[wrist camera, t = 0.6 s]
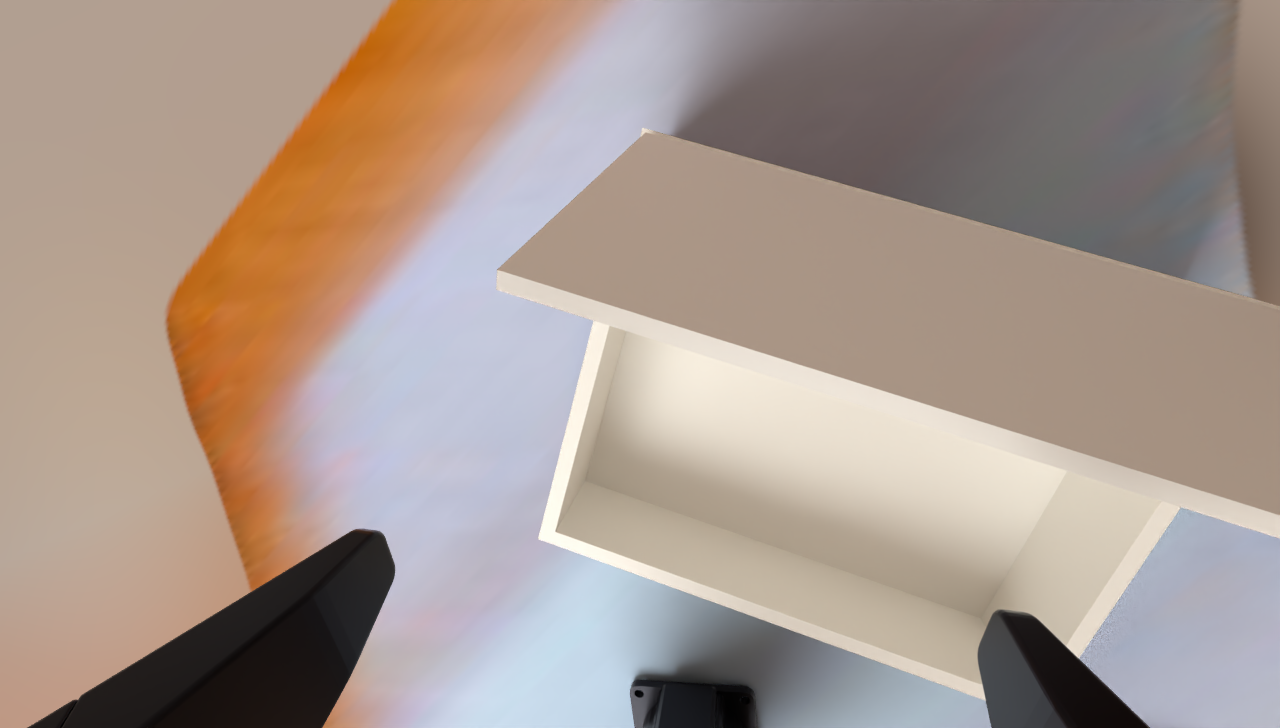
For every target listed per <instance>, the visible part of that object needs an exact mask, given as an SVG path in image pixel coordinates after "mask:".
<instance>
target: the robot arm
mask: <svg viewBox="0 0 1280 728" xmlns="http://www.w3.org/2000/svg"><path fill="white" fill-rule="evenodd" d="M394 576H395V564H394V561H393V558H392V555H391V553H390V550H389V547H388V544H387V541H386V538H385V536H384V535H383V533H381V532H380V531H376V530H368V529H355V530H353V531H351V532H349V533H347V534H346V535H344V536H342V537H341V538H339V539H338V540H336V541H334V542H333V543H331V544H329V545H328V546H326V547H324V548H323V549H321V550H319V551H318V552H316V553H315V554H313V555H311V556H310V557H308V558H306V559H305V560H303V561H301V562H300V563H298V564H296V565H295V566H293V567H291V568H290V569H288V570H287V571H285V572H283V573H282V574H280V575H278V576H277V577H275V578H273V579H272V580H270V581H268V582H267V583H265V584H264V585H262V586H260V587H259V588H257V589H255V590H254V591H252V592H250V593H249V594H247V595H245V596H244V597H242V598H241V599H239V600H238V601H236V602H234V603H232V604H231V605H229V606H227V607H226V608H224V609H222V610H221V611H219V612H217V613H216V614H214V615H213V616H211V617H209V618H208V619H206V620H205V621H203V622H201V623H199V624H198V625H196V626H194V627H193V628H191V629H190V630H188V631H186V632H185V633H183V634H181V635H180V636H178V637H176V638H175V639H173V640H171V641H170V642H168V643H166V644H165V645H163V646H162V647H160V648H158V649H157V650H155V651H154V652H152V653H150V654H148V655H147V656H145V657H143V658H142V659H140V660H138V661H137V662H135V663H134V664H132V665H130V666H129V667H127V668H125V669H124V670H122V671H120V672H119V673H117V674H116V675H114V676H112V677H111V678H109V679H107V680H106V681H104V682H102V683H101V684H99V685H97V686H96V687H94V688H92V689H91V690H89V691H88V692H86V693H84V694H83V695H81V697H80V698H79V700H72V701H71V702H69V703H68V704H66V705H64V706H63V707H61V708H59V709H58V710H56V711H54V712H53V713H51V714H49V715H48V716H46V717H45V718H43V719H41V720H40V721H38V722H36V723H35V724H33V725H31V726H29V727H28V728H322V727H323V725H324V724H325V722H326V720H327V718H328V716H329V715H330V713H331V711H332V709H333V707H334V706H335V704H336V702H337V700H338V698H339V697H340V695H341V693H342V691H343V689H344V687H345V685H346V684H347V682H348V680H349V678H350V676H351V674H352V672H353V670H354V668H355V666H356V664H357V661H358V659H359V657H360V655H361V653H362V650H363V648H364V646H365V644H366V641H367V639H368V637H369V635H370V632H371V630H372V628H373V625H374V623H375V621H376V619H377V616H378V614H379V612H380V610H381V607H382V605H383V603H384V601H385V598H386V596H387V594H388V592H389V589H390V587H391V585H392V582H393V580H394ZM977 657H978V666H979V671H980V675H981V680H982V685H983V690H984V694H985V699H986V704H987V708H988V713H989V718H990V723H991V727H992V728H1150V727H1149V726H1148V725H1147V724H1146V723H1145V722H1144V721H1142V720H1141V719H1140V718H1139V717H1138V716H1137V715H1136V714H1135V713H1134V712H1133V711H1132V710H1131V709H1130V708H1129V707H1128V706H1127V705H1126V704H1125V703H1124V702H1123V701H1122V700H1121V699H1120V698H1119V697H1118V696H1117V695H1116V694H1115V693H1114V692H1113V691H1112V690H1111V689H1110V688H1109V687H1107V686H1106V685H1105V684H1104V683H1103V682H1102V681H1101V680H1100V679H1099V678H1098V677H1097V676H1096V675H1095V674H1094V673H1093V672H1092V671H1091V670H1090V669H1089V668H1088V667H1087V666H1086V665H1085V664H1084V663H1083V662H1082V661H1081V660H1080V659H1079V658H1078V657H1077V656H1076V655H1075V654H1074V653H1072V652H1071V651H1070V650H1069V649H1068V648H1067V647H1066V646H1065V645H1064V644H1063V643H1062V642H1061V641H1060V640H1059V639H1058V638H1057V637H1056V636H1055V635H1054V634H1053V633H1052V632H1051V631H1050V630H1049V629H1048V628H1047V627H1046V626H1045V625H1044V624H1043V623H1042V622H1041V621H1040V620H1038V619H1037V618H1036V617H1035V616H1033V615H1032V614H1029V613H1026V612H1021V611H1013V610H1005V609H998V610H996V611H995V612H993V614H992V616H991V618H990V620H989V622H988V625H987V627H986V629H985V632H984V634H983V636H982V639H981V641H980V644H979V647H978V656H977ZM638 690H641V691H642V692H641V691H638ZM744 696H745V697H747V698H743V697H744ZM630 697H631V704H632V712H633V719H634V726H635V728H757V721H756V707H755V694H754V691H753V690H752V689H751V688H749V687H746V686H734V685H716V684H699V683H682V682H665V681H648V680H636V681H634V682H633V683H632V685H631V689H630Z"/></svg>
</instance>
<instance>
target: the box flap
mask: <svg viewBox="0 0 1280 728" xmlns="http://www.w3.org/2000/svg"><path fill="white" fill-rule="evenodd" d="M496 290H499V291H502V292H505V293H508V294H511V295H514V296H518V297H521V298H524V299H527V300H530V301H533V302H536V303H540V304H543V305H546V306H549V307H552V308H555V309H559V310H562V311H565V312H568V313H571V314H574V315H577V316H581V317H584V318H587V319H590V320H593V321H596V322H599V323H603V324H606V325H609V326H612V327H615V328H618V329H622V330H625V331H628V332H631V333H634V334H637V335H640V336H644V337H647V338H650V339H653V340H656V341H659V342H662V343H666V344H669V345H672V346H675V347H678V348H681V349H684V350H688V351H691V352H694V353H697V354H700V355H703V356H707V357H710V358H713V359H716V360H719V361H722V362H725V363H729V364H732V365H735V366H738V367H741V368H744V369H747V370H751V371H754V372H757V373H760V374H763V375H766V376H770V377H773V378H776V379H779V380H782V381H785V382H788V383H792V384H795V385H798V386H801V387H804V388H807V389H810V390H814V391H817V392H820V393H823V394H826V395H829V396H833V397H836V398H839V399H842V400H845V401H848V402H851V403H855V404H858V405H861V406H864V407H867V408H870V409H873V410H877V411H880V412H883V413H886V414H889V415H892V416H895V417H899V418H902V419H905V420H908V421H911V422H914V423H918V424H921V425H924V426H927V427H930V428H933V429H936V430H940V431H943V432H946V433H949V434H952V435H955V436H958V437H962V438H965V439H968V440H971V441H974V442H977V443H981V444H984V445H987V446H990V447H993V448H996V449H999V450H1003V451H1006V452H1009V453H1012V454H1015V455H1018V456H1021V457H1025V458H1028V459H1031V460H1034V461H1037V462H1040V463H1043V464H1047V465H1050V466H1053V467H1056V468H1059V469H1062V470H1066V471H1069V472H1072V473H1075V474H1078V475H1081V476H1084V477H1088V478H1091V479H1094V480H1097V481H1100V482H1103V483H1106V484H1110V485H1113V486H1116V487H1119V488H1122V489H1125V490H1129V491H1132V492H1135V493H1138V494H1141V495H1144V496H1147V497H1151V498H1154V499H1157V500H1160V501H1163V502H1166V503H1169V504H1173V505H1176V506H1179V507H1182V508H1185V509H1188V510H1191V511H1195V512H1198V513H1201V514H1204V515H1207V516H1210V517H1214V518H1217V519H1220V520H1223V521H1226V522H1229V523H1232V524H1236V525H1239V526H1242V527H1245V528H1248V529H1251V530H1254V531H1258V532H1261V533H1264V534H1267V535H1270V536H1273V537H1277V538H1280V310H1277V309H1274V308H1270V307H1267V306H1263V305H1259V304H1256V303H1252V302H1249V301H1245V300H1242V299H1238V298H1234V297H1231V296H1227V295H1224V294H1220V293H1217V292H1213V291H1210V290H1206V289H1202V288H1199V287H1195V286H1192V285H1188V284H1185V283H1181V282H1177V281H1174V280H1170V279H1167V278H1163V277H1160V276H1156V275H1152V274H1149V273H1145V272H1142V271H1138V270H1135V269H1131V268H1127V267H1124V266H1120V265H1117V264H1113V263H1110V262H1106V261H1103V260H1099V259H1095V258H1092V257H1088V256H1085V255H1081V254H1078V253H1074V252H1070V251H1067V250H1063V249H1060V248H1056V247H1053V246H1049V245H1045V244H1042V243H1038V242H1035V241H1031V240H1028V239H1024V238H1020V237H1017V236H1013V235H1010V234H1006V233H1003V232H999V231H996V230H992V229H988V228H985V227H981V226H978V225H974V224H971V223H967V222H963V221H960V220H956V219H953V218H949V217H946V216H942V215H938V214H935V213H931V212H928V211H924V210H921V209H917V208H913V207H910V206H906V205H903V204H899V203H896V202H892V201H889V200H885V199H881V198H878V197H874V196H871V195H867V194H864V193H860V192H856V191H853V190H849V189H846V188H842V187H839V186H835V185H831V184H828V183H824V182H821V181H817V180H814V179H810V178H806V177H803V176H799V175H796V174H792V173H789V172H785V171H782V170H778V169H774V168H771V167H767V166H764V165H760V164H757V163H753V162H749V161H746V160H742V159H739V158H735V157H732V156H728V155H724V154H721V153H717V152H714V151H710V150H707V149H703V148H699V147H696V146H692V145H689V144H685V143H682V142H678V141H675V140H671V139H667V138H664V137H660V136H657V135H653V134H650V133H646V132H645V133H644V134H643V135H642V136H641V137H640V138H639V139H638V140H637V141H636V142H635V143H634V144H632V145H631V146H630V147H629V148H628V149H627V150H626V151H625V152H624V153H623V154H622V155H621V156H619V157H618V158H617V159H616V160H615V161H614V162H613V163H612V164H611V165H610V166H609V167H608V168H606V169H605V170H604V171H603V172H602V173H601V174H600V175H599V176H598V177H597V178H596V179H595V180H594V181H592V182H591V183H590V184H589V185H588V186H587V187H586V188H585V189H584V190H583V191H582V192H581V193H579V194H578V195H577V196H576V197H575V198H574V199H573V200H572V201H571V202H570V203H569V204H568V205H567V206H565V207H564V208H563V209H562V210H561V211H560V212H559V213H558V214H557V215H556V216H555V217H554V218H552V219H551V220H550V221H549V222H548V223H547V224H546V225H545V226H544V227H543V228H542V229H541V230H540V231H538V232H537V233H536V234H535V235H534V236H533V237H532V238H531V239H530V240H529V241H528V242H527V243H525V244H524V245H523V246H522V247H521V248H520V249H519V250H518V251H517V252H516V253H515V254H514V255H512V256H511V257H510V258H509V259H508V260H507V261H506V262H505V263H504V264H503V265H502V266H501V267H500V268H498V269H497V287H496Z"/></svg>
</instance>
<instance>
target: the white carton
mask: <svg viewBox="0 0 1280 728" xmlns="http://www.w3.org/2000/svg"><path fill="white" fill-rule="evenodd" d="M645 132H646V133H650V134H653V135H657V136H660V137H664V138H667V139H671V140H675V141H678V142H682V143H685V144H689V145H692V146H696V147H699V148H703V149H707V150H710V151H714V152H717V153H721V154H724V155H728V156H732V157H735V158H739V159H742V160H746V161H749V162H753V163H757V164H760V165H764V166H767V167H771V168H774V169H778V170H782V171H785V172H789V173H792V174H796V175H799V176H803V177H806V178H810V179H814V180H817V181H821V182H824V183H828V184H831V185H835V186H839V187H842V188H846V189H849V190H853V191H856V192H860V193H864V194H867V195H871V196H874V197H878V198H881V199H885V200H889V201H892V202H896V203H899V204H903V205H906V206H910V207H913V208H917V209H921V210H924V211H928V212H931V213H935V214H938V215H942V216H946V217H949V218H953V219H956V220H960V221H963V222H967V223H971V224H974V225H978V226H981V227H985V228H988V229H992V230H996V231H999V232H1003V233H1006V234H1010V235H1013V236H1017V237H1020V238H1024V239H1028V240H1031V241H1035V242H1038V243H1042V244H1045V245H1049V246H1053V247H1056V248H1060V249H1063V250H1067V251H1070V252H1074V253H1078V254H1081V255H1085V256H1088V257H1092V258H1095V259H1099V260H1103V261H1106V262H1110V263H1113V264H1117V265H1120V266H1124V267H1127V268H1131V269H1135V270H1138V271H1142V272H1145V273H1149V274H1152V275H1156V276H1160V277H1163V278H1167V279H1170V280H1174V281H1177V282H1181V283H1185V284H1188V285H1192V286H1195V287H1199V288H1202V289H1206V290H1210V291H1213V292H1217V293H1220V294H1224V295H1227V296H1231V297H1234V298H1238V299H1242V300H1245V301H1249V302H1252V303H1256V304H1259V305H1263V306H1267V307H1270V308H1274V309H1277V310H1280V306H1278V305H1274V304H1271V303H1267V302H1263V301H1260V300H1256V299H1253V298H1249V297H1246V296H1242V295H1238V294H1235V293H1231V292H1228V291H1224V290H1221V289H1217V288H1213V287H1210V286H1206V285H1203V284H1199V283H1196V282H1192V281H1188V280H1185V279H1181V278H1178V277H1174V276H1171V275H1167V274H1163V273H1160V272H1156V271H1153V270H1149V269H1145V268H1142V267H1138V266H1135V265H1131V264H1128V263H1124V262H1120V261H1117V260H1113V259H1110V258H1106V257H1103V256H1099V255H1095V254H1092V253H1088V252H1085V251H1081V250H1078V249H1074V248H1070V247H1067V246H1063V245H1060V244H1056V243H1053V242H1049V241H1045V240H1042V239H1038V238H1035V237H1031V236H1027V235H1024V234H1020V233H1017V232H1013V231H1010V230H1006V229H1002V228H999V227H995V226H992V225H988V224H985V223H981V222H977V221H974V220H970V219H967V218H963V217H960V216H956V215H952V214H949V213H945V212H942V211H938V210H935V209H931V208H927V207H924V206H920V205H917V204H913V203H910V202H906V201H902V200H899V199H895V198H892V197H888V196H884V195H881V194H877V193H874V192H870V191H867V190H863V189H859V188H856V187H852V186H849V185H845V184H842V183H838V182H834V181H831V180H827V179H824V178H820V177H817V176H813V175H809V174H806V173H802V172H799V171H795V170H792V169H788V168H784V167H781V166H777V165H774V164H770V163H766V162H763V161H759V160H756V159H752V158H749V157H745V156H741V155H738V154H734V153H731V152H727V151H724V150H720V149H716V148H713V147H709V146H706V145H702V144H699V143H695V142H691V141H688V140H684V139H681V138H677V137H674V136H670V135H666V134H663V133H659V132H656V131H652V130H649V129H645V128H642V132H641V136H642V135H643V134H644V133H645ZM641 136H640V137H641ZM1180 508H1181V507H1179V506H1176V505H1173V504H1169V503H1166V502H1163V501H1160V500H1157V499H1154V498H1151V497H1147V496H1144V495H1141V494H1138V493H1135V492H1132V491H1129V490H1125V489H1122V488H1119V487H1116V486H1113V485H1110V484H1106V483H1103V482H1100V481H1097V480H1094V479H1091V478H1088V477H1084V476H1081V475H1078V474H1075V473H1072V472H1069V471H1066V470H1062V469H1059V468H1056V467H1053V466H1050V465H1047V464H1043V463H1040V462H1037V461H1034V460H1031V459H1028V458H1025V457H1021V456H1018V455H1015V454H1012V453H1009V452H1006V451H1003V450H999V449H996V448H993V447H990V446H987V445H984V444H981V443H977V442H974V441H971V440H968V439H965V438H962V437H958V436H955V435H952V434H949V433H946V432H943V431H940V430H936V429H933V428H930V427H927V426H924V425H921V424H918V423H914V422H911V421H908V420H905V419H902V418H899V417H895V416H892V415H889V414H886V413H883V412H880V411H877V410H873V409H870V408H867V407H864V406H861V405H858V404H855V403H851V402H848V401H845V400H842V399H839V398H836V397H833V396H829V395H826V394H823V393H820V392H817V391H814V390H810V389H807V388H804V387H801V386H798V385H795V384H792V383H788V382H785V381H782V380H779V379H776V378H773V377H770V376H766V375H763V374H760V373H757V372H754V371H751V370H747V369H744V368H741V367H738V366H735V365H732V364H729V363H725V362H722V361H719V360H716V359H713V358H710V357H707V356H703V355H700V354H697V353H694V352H691V351H688V350H684V349H681V348H678V347H675V346H672V345H669V344H666V343H662V342H659V341H656V340H653V339H650V338H647V337H644V336H640V335H637V334H634V333H631V332H628V331H625V330H622V329H618V328H615V327H612V326H609V325H606V324H603V323H599V322H596V321H593V325H592V329H591V333H590V337H589V341H588V345H587V349H586V353H585V357H584V361H583V365H582V368H581V372H580V376H579V380H578V384H577V388H576V392H575V396H574V400H573V404H572V408H571V412H570V416H569V420H568V424H567V427H566V431H565V435H564V439H563V443H562V447H561V451H560V455H559V459H558V463H557V467H556V471H555V475H554V479H553V483H552V487H551V490H550V494H549V498H548V502H547V506H546V510H545V514H544V518H543V522H542V526H541V530H540V534H539V538H538V539H540V540H542V541H545V542H548V543H551V544H554V545H556V546H559V547H562V548H565V549H567V550H570V551H573V552H576V553H578V554H581V555H584V556H587V557H590V558H592V559H595V560H598V561H601V562H603V563H606V564H609V565H612V566H614V567H617V568H620V569H623V570H625V571H628V572H631V573H634V574H637V575H639V576H642V577H645V578H648V579H650V580H653V581H656V582H659V583H661V584H664V585H667V586H670V587H673V588H675V589H678V590H681V591H684V592H686V593H689V594H692V595H695V596H697V597H700V598H703V599H706V600H709V601H711V602H714V603H717V604H720V605H722V606H725V607H728V608H731V609H733V610H736V611H739V612H742V613H745V614H747V615H750V616H753V617H756V618H758V619H761V620H764V621H767V622H769V623H772V624H775V625H778V626H781V627H783V628H786V629H789V630H792V631H794V632H797V633H800V634H803V635H805V636H808V637H811V638H814V639H816V640H819V641H822V642H825V643H828V644H830V645H833V646H836V647H839V648H841V649H844V650H847V651H850V652H852V653H855V654H858V655H861V656H864V657H866V658H869V659H872V660H875V661H877V662H880V663H883V664H886V665H888V666H891V667H894V668H897V669H900V670H902V671H905V672H908V673H911V674H913V675H916V676H919V677H922V678H924V679H927V680H930V681H933V682H936V683H938V684H941V685H944V686H947V687H949V688H952V689H955V690H958V691H960V692H963V693H966V694H969V695H972V696H974V697H977V698H980V699H983V700H985V701H986V699H985V694H984V690H983V685H982V680H981V675H980V671H979V666H978V657H977V656H978V647H979V644H980V641H981V639H982V636H983V634H984V632H985V629H986V627H987V625H988V622H989V620H990V618H991V616H992V614H993V612H995V611H996V610H998V609H1005V610H1013V611H1021V612H1026V613H1029V614H1032V615H1033V616H1035V617H1036V618H1037V619H1038V620H1040V621H1041V622H1042V623H1043V624H1044V625H1045V626H1046V627H1047V628H1048V629H1049V630H1050V631H1051V632H1052V633H1053V634H1054V635H1055V636H1056V637H1057V638H1058V639H1059V640H1060V641H1061V642H1062V643H1063V644H1064V645H1065V646H1066V647H1067V648H1068V649H1069V650H1070V651H1071V652H1072V653H1074V654H1075V655H1076V656H1077V657H1078V658H1079V657H1080V656H1081V654H1082V653H1083V651H1084V650H1085V648H1086V647H1087V645H1088V644H1089V642H1090V641H1091V639H1092V638H1093V637H1094V635H1095V634H1096V632H1097V631H1098V629H1099V628H1100V626H1101V625H1102V623H1103V622H1104V620H1105V619H1106V617H1107V616H1108V614H1109V613H1110V611H1111V610H1112V608H1113V607H1114V605H1115V604H1116V603H1117V601H1118V600H1119V598H1120V597H1121V595H1122V594H1123V592H1124V591H1125V589H1126V588H1127V586H1128V585H1129V583H1130V582H1131V580H1132V579H1133V577H1134V576H1135V574H1136V573H1137V571H1138V570H1139V568H1140V567H1141V566H1142V564H1143V563H1144V561H1145V560H1146V558H1147V557H1148V555H1149V554H1150V552H1151V551H1152V549H1153V548H1154V546H1155V545H1156V543H1157V542H1158V540H1159V539H1160V537H1161V536H1162V534H1163V533H1164V532H1165V530H1166V529H1167V527H1168V526H1169V524H1170V523H1171V521H1172V520H1173V518H1174V517H1175V515H1176V514H1177V512H1178V511H1179V509H1180Z"/></svg>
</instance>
